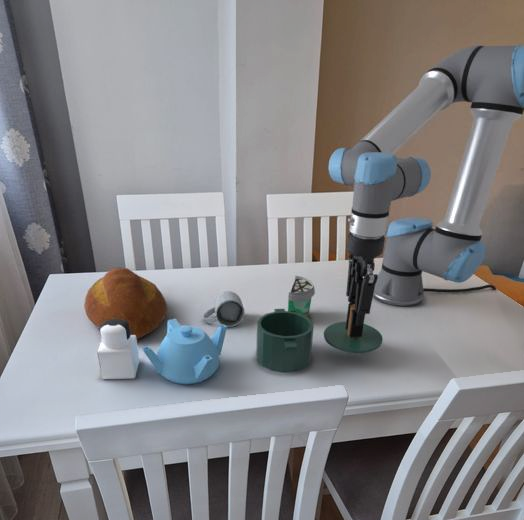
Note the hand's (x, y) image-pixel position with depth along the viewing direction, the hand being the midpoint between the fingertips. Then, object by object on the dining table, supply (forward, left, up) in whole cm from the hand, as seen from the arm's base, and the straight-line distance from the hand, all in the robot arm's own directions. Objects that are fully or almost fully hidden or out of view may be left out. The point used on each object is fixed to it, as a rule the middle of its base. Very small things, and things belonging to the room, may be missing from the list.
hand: (353, 332), depth 111 cm
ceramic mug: (+29, -20, -7) cm, 36 cm away
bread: (+55, -25, -7) cm, 61 cm away
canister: (+16, 0, -7) cm, 18 cm away
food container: (+8, -20, -7) cm, 23 cm away
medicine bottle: (+53, +2, -7) cm, 54 cm away
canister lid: (0, 0, -1) cm, 1 cm away
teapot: (+38, +3, -7) cm, 39 cm away
